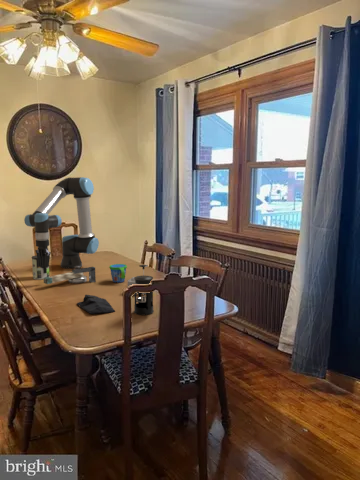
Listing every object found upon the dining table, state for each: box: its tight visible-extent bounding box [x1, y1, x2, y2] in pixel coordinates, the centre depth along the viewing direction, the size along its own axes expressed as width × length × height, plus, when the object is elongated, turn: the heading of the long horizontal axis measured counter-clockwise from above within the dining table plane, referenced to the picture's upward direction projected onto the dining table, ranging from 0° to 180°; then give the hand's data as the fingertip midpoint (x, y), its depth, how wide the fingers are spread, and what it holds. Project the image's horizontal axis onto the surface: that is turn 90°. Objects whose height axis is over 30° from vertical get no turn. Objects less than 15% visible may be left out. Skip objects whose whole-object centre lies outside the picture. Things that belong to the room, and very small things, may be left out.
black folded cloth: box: [76, 294, 116, 315], centre depth 185 cm, size 15×22×5 cm
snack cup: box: [108, 263, 128, 284], centre depth 234 cm, size 16×10×10 cm
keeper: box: [71, 266, 97, 283], centre depth 230 cm, size 14×3×9 cm, turn 126°
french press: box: [133, 264, 154, 316], centre depth 177 cm, size 12×9×23 cm
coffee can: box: [31, 254, 50, 280], centre depth 241 cm, size 10×10×14 cm
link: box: [43, 266, 84, 285], centre depth 226 cm, size 25×6×6 cm, turn 141°
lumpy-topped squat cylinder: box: [127, 276, 146, 295], centre depth 211 cm, size 10×13×9 cm
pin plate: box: [67, 274, 88, 284], centre depth 234 cm, size 11×11×2 cm
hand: (44, 278), depth 225 cm, fingers closed
